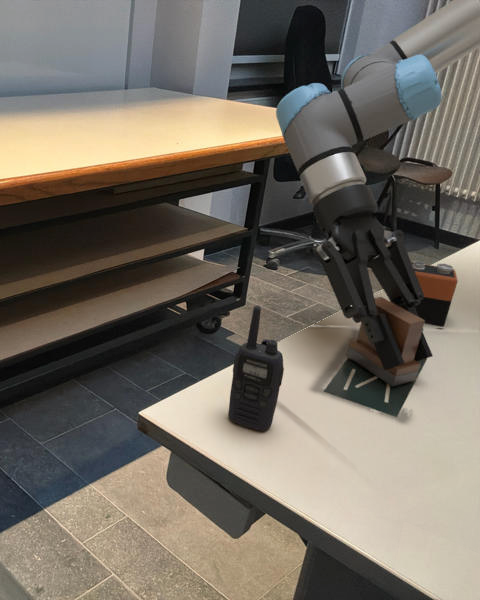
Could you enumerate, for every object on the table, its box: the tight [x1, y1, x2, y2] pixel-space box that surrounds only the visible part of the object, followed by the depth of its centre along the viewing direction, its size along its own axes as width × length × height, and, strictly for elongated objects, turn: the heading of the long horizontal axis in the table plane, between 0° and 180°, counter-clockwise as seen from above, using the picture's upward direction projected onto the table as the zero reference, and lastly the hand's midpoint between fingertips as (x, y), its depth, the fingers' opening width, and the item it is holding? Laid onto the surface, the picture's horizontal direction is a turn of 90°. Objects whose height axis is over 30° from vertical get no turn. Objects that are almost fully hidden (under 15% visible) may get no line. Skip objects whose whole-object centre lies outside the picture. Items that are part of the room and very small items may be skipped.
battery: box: [401, 260, 459, 330], centre depth 99 cm, size 4×7×10 cm, turn 68°
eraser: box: [345, 296, 425, 386], centre depth 86 cm, size 8×4×8 cm, turn 24°
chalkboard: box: [323, 357, 428, 418], centre depth 87 cm, size 18×10×1 cm, turn 144°
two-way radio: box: [227, 305, 285, 432], centre depth 76 cm, size 6×4×15 cm
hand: (408, 362), depth 83 cm, fingers closed on eraser, 4 cm apart
